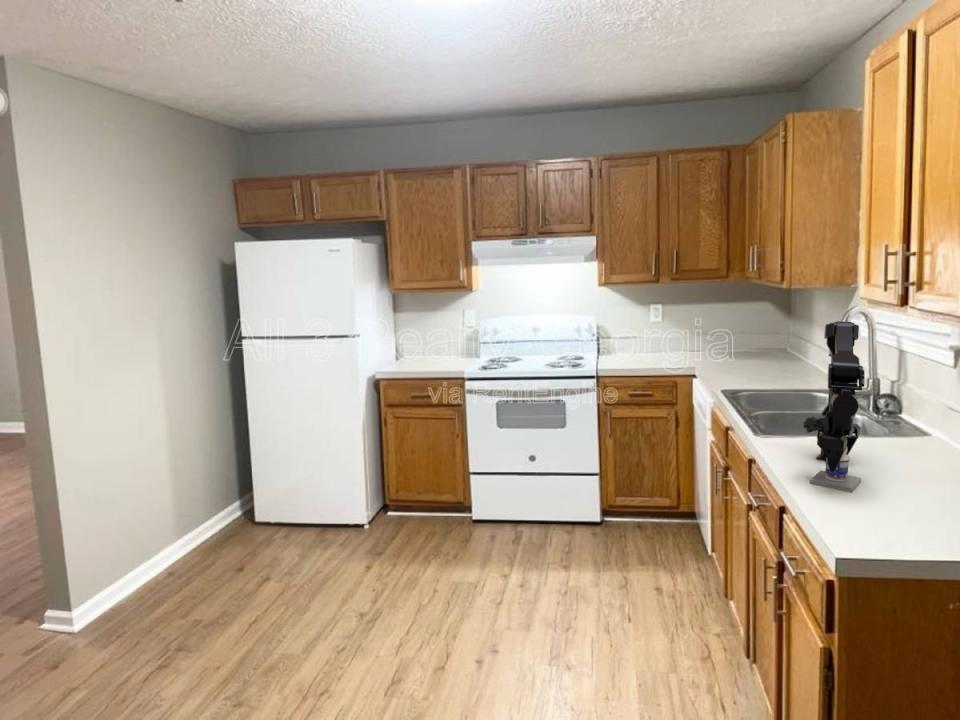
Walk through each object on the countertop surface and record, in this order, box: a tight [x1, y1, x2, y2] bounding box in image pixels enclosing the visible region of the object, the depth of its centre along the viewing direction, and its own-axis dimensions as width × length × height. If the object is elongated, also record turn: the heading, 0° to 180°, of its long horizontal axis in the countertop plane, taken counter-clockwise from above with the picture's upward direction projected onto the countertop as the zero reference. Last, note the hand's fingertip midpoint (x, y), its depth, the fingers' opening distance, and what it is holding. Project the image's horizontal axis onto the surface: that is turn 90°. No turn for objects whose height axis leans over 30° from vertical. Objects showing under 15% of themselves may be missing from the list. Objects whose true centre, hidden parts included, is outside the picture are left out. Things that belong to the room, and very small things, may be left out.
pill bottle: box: [824, 446, 850, 482], centre depth 185 cm, size 5×5×9 cm
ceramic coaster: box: [809, 470, 862, 494], centre depth 186 cm, size 10×10×1 cm
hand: (836, 466), depth 185 cm, fingers open, 9 cm apart
